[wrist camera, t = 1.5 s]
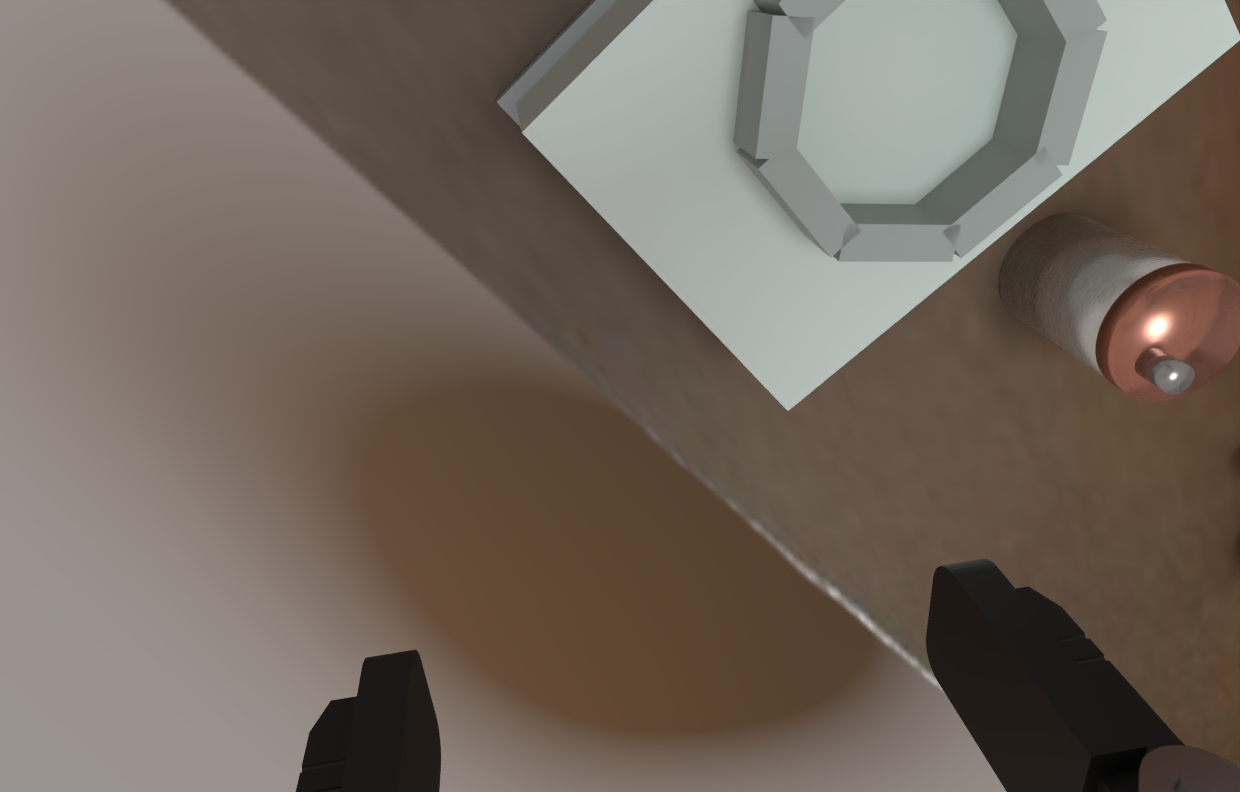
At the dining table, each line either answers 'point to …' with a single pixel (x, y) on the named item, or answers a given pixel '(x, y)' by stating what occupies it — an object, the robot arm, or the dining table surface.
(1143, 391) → the spout can
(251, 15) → the dining table surface
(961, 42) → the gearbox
